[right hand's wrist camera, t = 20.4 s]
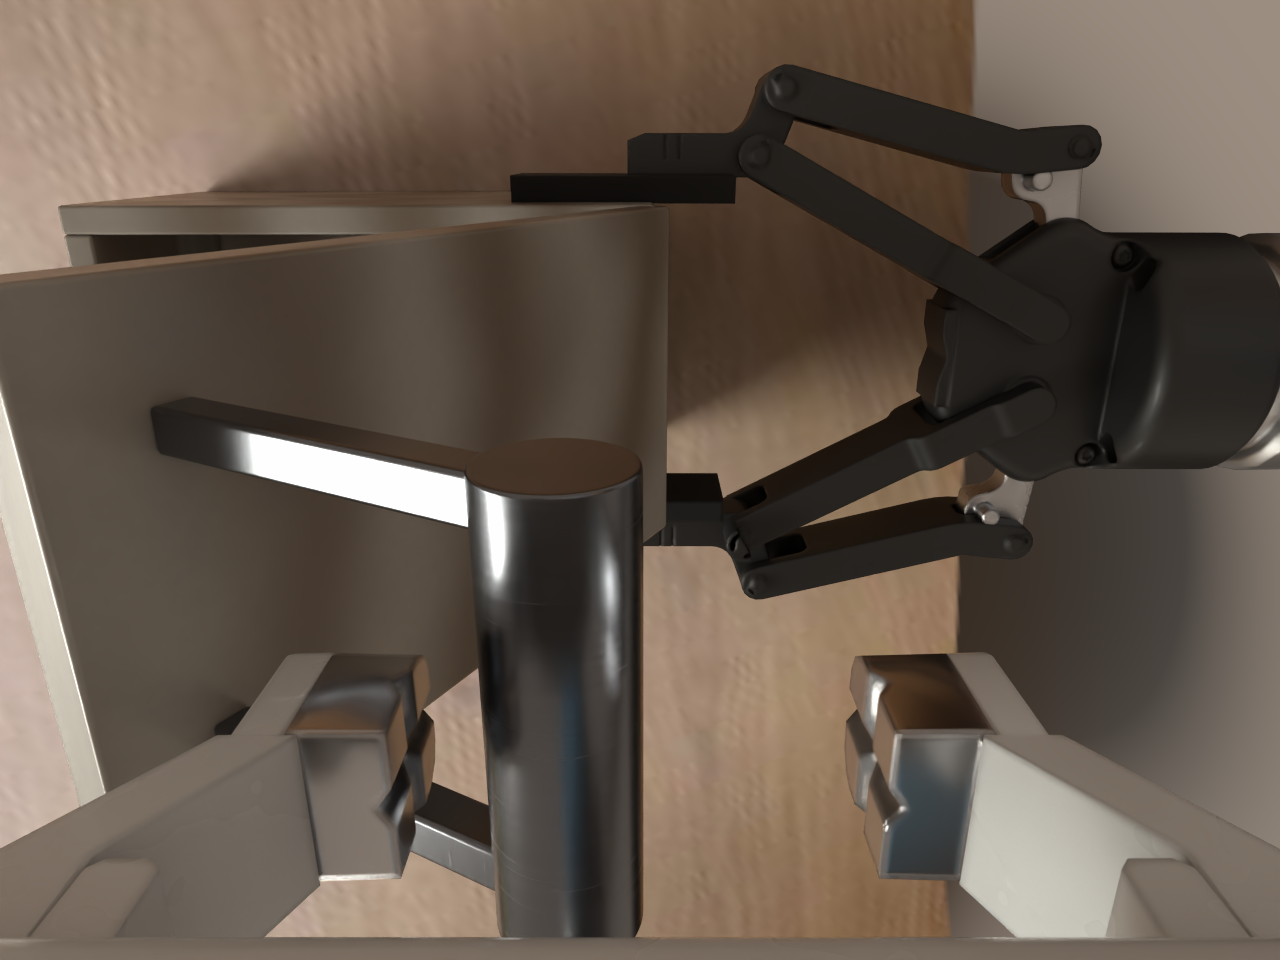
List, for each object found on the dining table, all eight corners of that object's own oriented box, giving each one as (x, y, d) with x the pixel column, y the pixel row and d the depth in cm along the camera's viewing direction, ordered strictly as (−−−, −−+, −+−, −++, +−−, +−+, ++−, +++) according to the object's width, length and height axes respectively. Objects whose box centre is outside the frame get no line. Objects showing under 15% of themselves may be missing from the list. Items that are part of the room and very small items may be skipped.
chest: (241, 434, 36) (124, 517, 28) (202, 191, 33) (55, 205, 25) (649, 433, 36) (653, 516, 28) (649, 191, 33) (654, 205, 25)
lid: (102, 900, 14) (546, 1183, 10) (-68, 281, 10) (499, 354, 7) (639, 520, 28) (907, 578, 24) (639, 205, 24) (949, 215, 21)
